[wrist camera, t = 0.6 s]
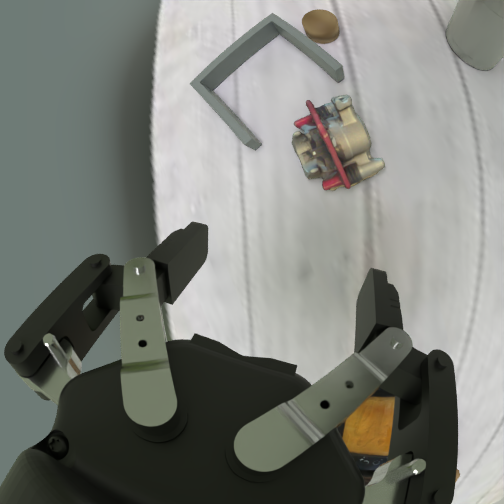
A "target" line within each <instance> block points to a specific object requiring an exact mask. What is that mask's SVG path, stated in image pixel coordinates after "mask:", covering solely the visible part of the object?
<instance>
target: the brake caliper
mask: <svg viewBox="0 0 504 504" xmlns="http://www.w3.org/2000/svg"><path fill="white" fill-rule="evenodd" d="M331 101H332V103H328V104H324V105H323V106H321V107H318V108H315V107H314V105H313V104H312V102H311V101H310V100H307V101H306V106H307V107H308V109H309V111H310V113H311V114H310V115H308V116H306V117H304V118H301V119H299V120H297V121H295V122H294V125H295V126H296V127H297V128H300V129H302V130H304V132H305V134H302V133H301V132H299V131H297V132H295V133H294V134H293V138H292V139H293V140H292V145H293V147H294V150H295V152H296V154H297V155H298V157H299V159H300V161H301V164H302V168H303V170H304V172H305V175H306V177H307V178H308V179H312V178H319V177H321V178H323V182H322V186H323V189H324V190H336V189H337V188H338V187H341V186H342V187H346V188H347V189H349V188H350V187H351V186H354V185H356V184H357V183H359V182H361V181H362V180H365V179H366V178H370V177H372V176H373V175H375V174H377V173H378V172H379V171H380V170H382V169H383V168H384V167H385V163H384V161H383V159H382V158H372V157H371V155H370V151H369V149H370V147H371V140H370V136H369V134H368V131H367V129H366V127H365V124H364V123H363V121H362V120H361V118H360V117H359V116H358V114H357V113H355V111H354V108H353V105H352V99H351V97H350V96H349V95H343V96H338V97H333V98H332V99H331Z"/></svg>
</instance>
